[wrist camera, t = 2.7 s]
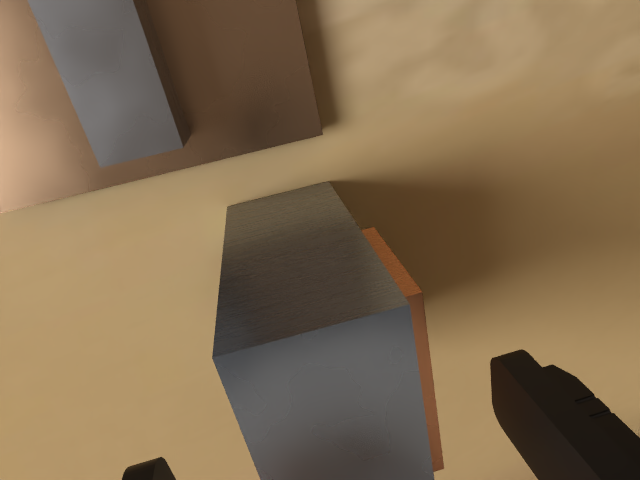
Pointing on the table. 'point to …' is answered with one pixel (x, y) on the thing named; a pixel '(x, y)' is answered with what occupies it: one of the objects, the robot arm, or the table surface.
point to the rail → (143, 90)
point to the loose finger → (323, 344)
